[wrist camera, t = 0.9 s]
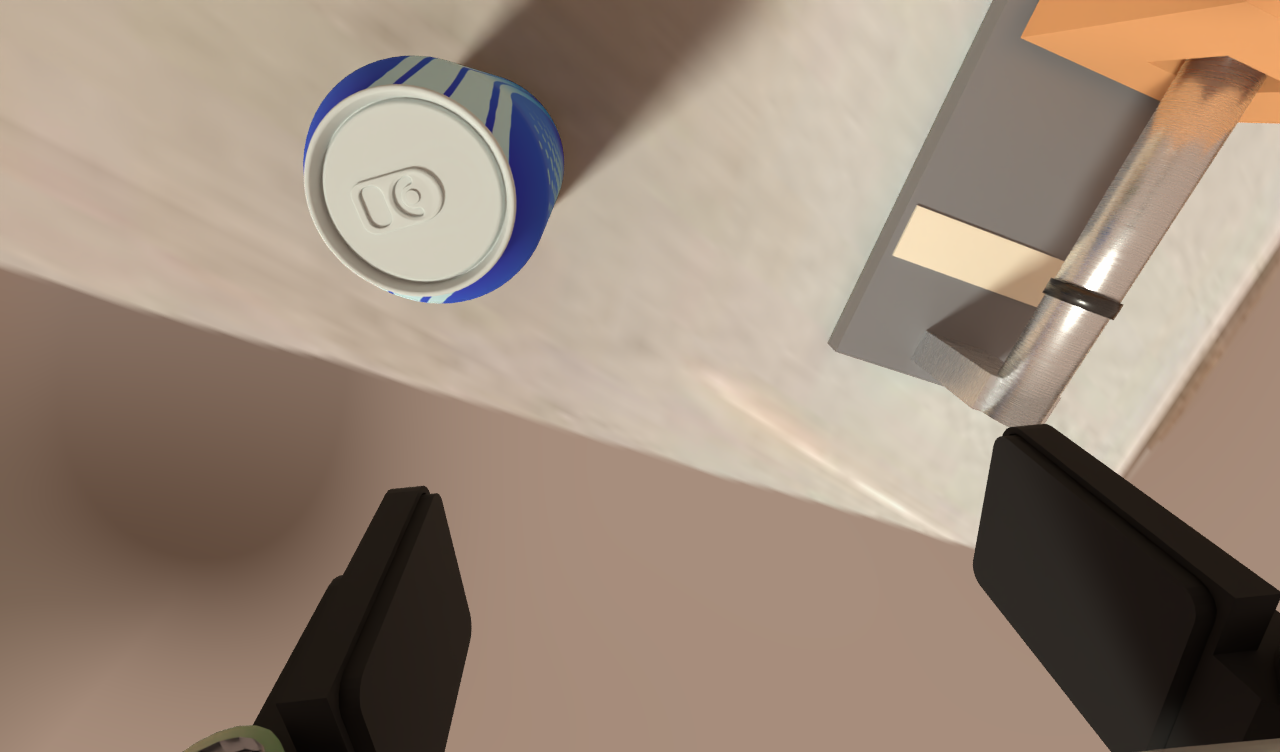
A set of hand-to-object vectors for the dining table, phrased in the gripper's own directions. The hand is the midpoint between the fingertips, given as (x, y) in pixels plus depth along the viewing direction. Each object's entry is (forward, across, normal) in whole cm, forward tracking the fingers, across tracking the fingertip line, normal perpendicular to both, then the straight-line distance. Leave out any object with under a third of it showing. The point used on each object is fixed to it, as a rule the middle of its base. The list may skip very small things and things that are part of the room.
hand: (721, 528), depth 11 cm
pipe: (+27, -23, 0) cm, 36 cm away
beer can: (+29, +8, -4) cm, 30 cm away
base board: (+28, -24, 0) cm, 37 cm away
